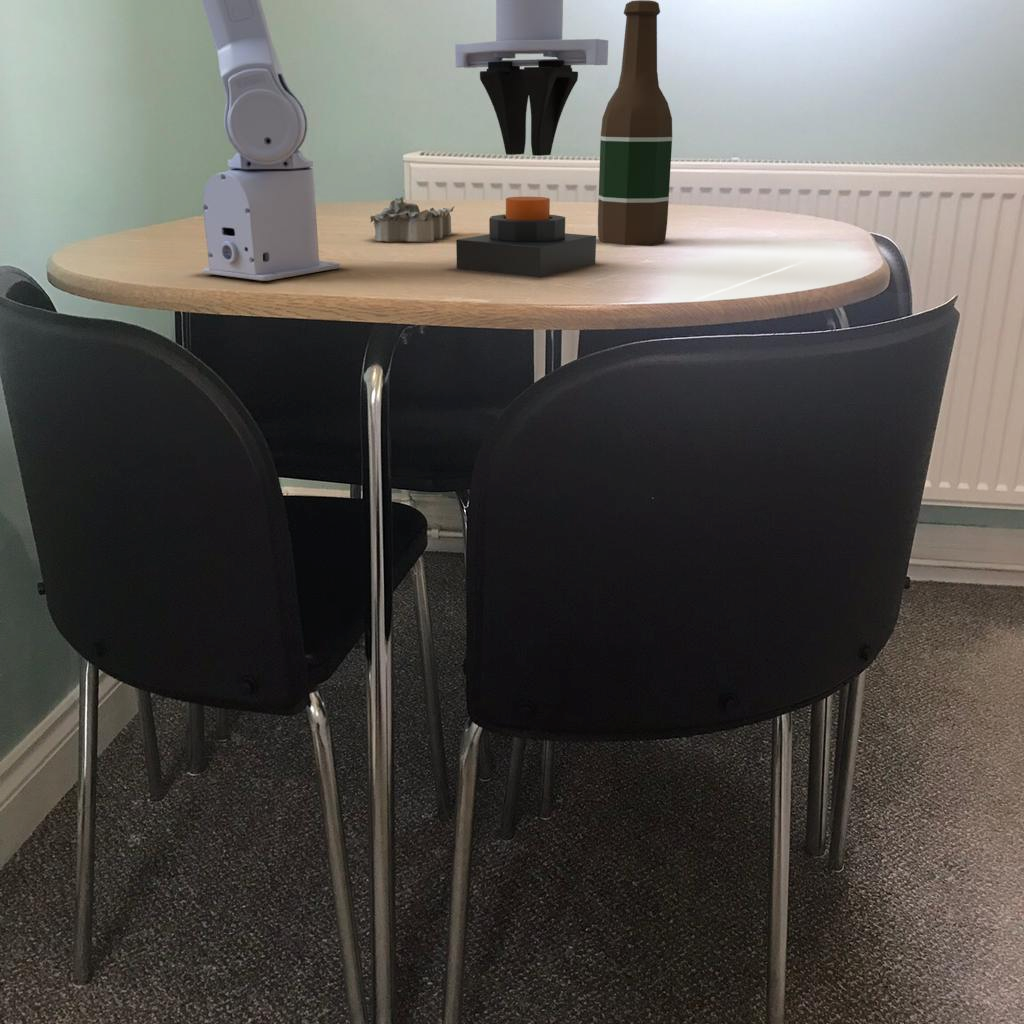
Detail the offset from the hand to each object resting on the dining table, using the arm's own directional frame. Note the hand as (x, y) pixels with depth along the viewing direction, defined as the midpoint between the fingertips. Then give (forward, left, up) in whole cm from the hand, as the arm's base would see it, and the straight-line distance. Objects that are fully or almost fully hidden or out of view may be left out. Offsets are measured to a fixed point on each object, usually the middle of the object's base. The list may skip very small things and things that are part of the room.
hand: (528, 155), depth 91 cm
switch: (0, 0, -6) cm, 6 cm away
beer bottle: (+23, +1, -10) cm, 25 cm away
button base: (0, 0, -10) cm, 10 cm away
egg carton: (+12, +23, -10) cm, 28 cm away
